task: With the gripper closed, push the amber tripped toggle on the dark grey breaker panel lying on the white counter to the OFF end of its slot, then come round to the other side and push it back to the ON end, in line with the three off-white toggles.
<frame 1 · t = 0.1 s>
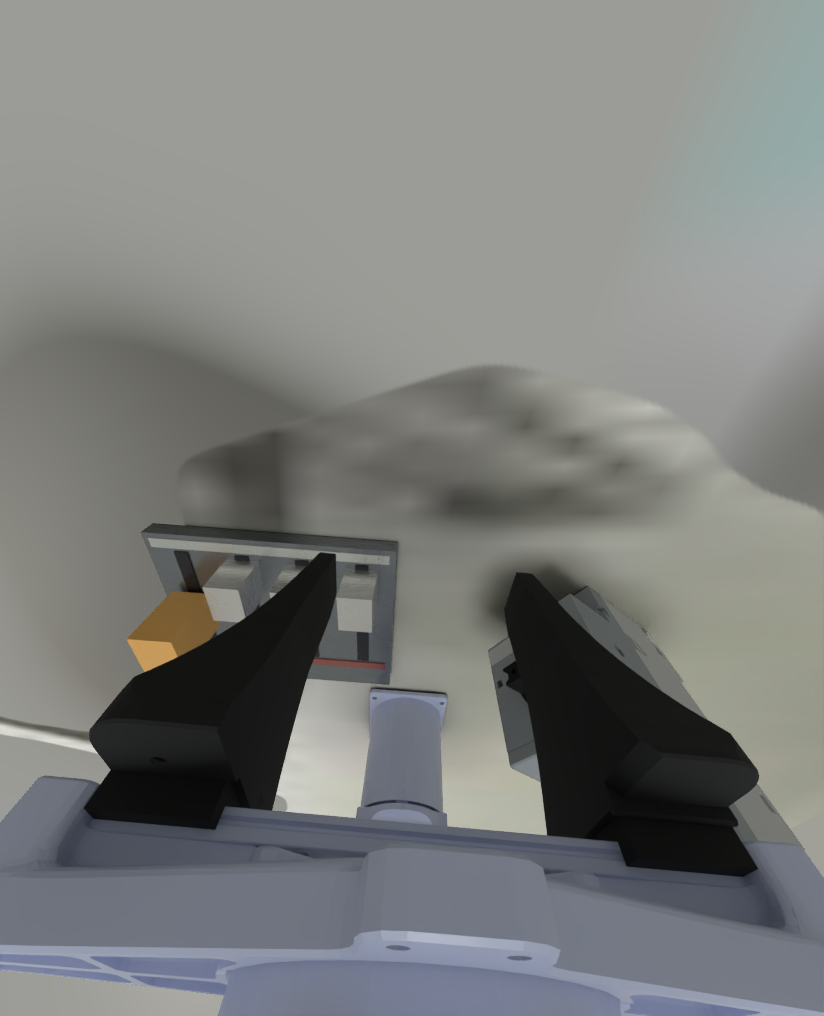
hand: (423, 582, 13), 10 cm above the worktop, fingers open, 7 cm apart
circuit breaker: (557, 614, 28), on the worktop
breaker panel: (288, 608, 28), on the worktop
tripped toggle: (178, 631, 24), point 4 cm above the worktop, slide at 3.5 cm
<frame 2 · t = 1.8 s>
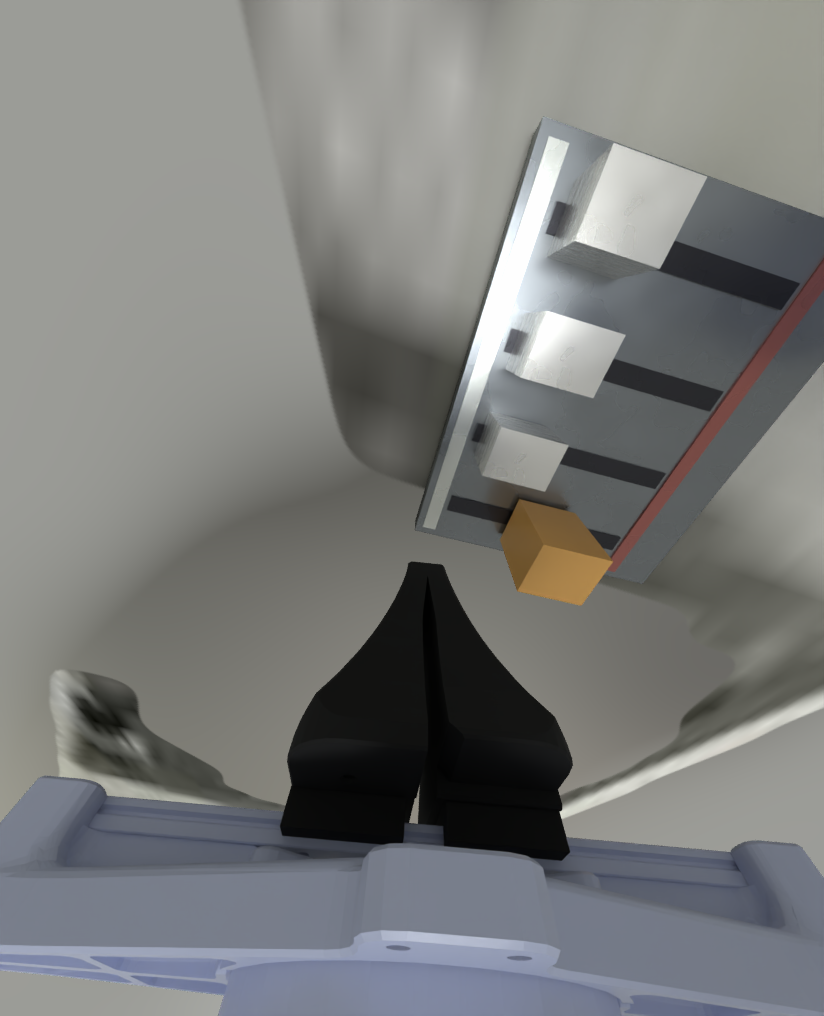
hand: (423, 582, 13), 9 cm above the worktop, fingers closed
breaker panel: (597, 416, 18), on the worktop
tripped toggle: (548, 549, 18), point 4 cm above the worktop, slide at 3.5 cm
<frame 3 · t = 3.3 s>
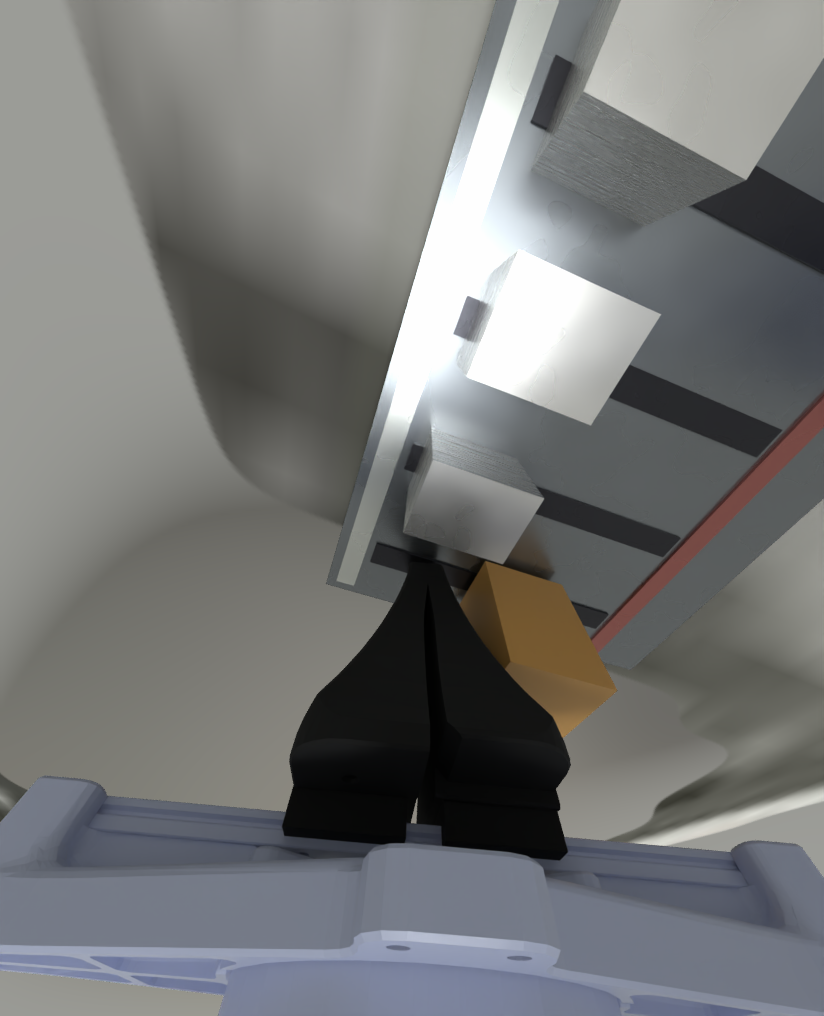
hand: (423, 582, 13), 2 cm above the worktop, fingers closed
breaker panel: (591, 447, 12), on the worktop
tripped toggle: (520, 642, 12), point 4 cm above the worktop, slide at 2.9 cm, touching gripper
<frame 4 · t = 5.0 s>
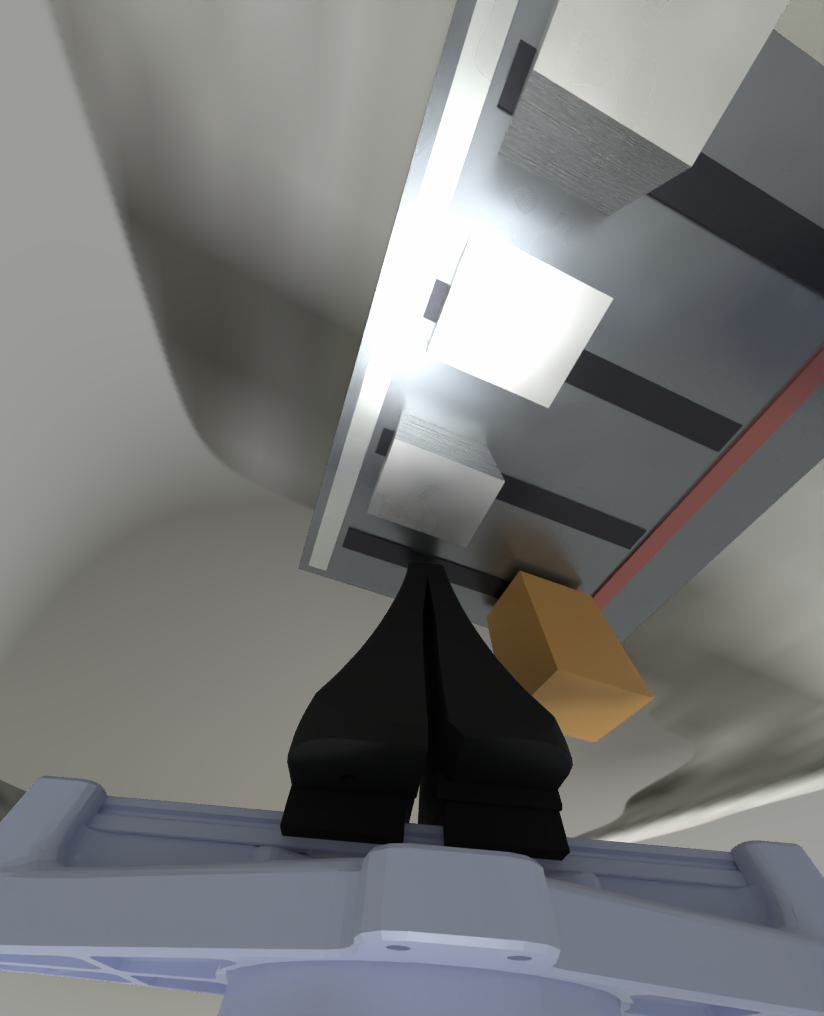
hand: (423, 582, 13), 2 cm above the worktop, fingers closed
breaker panel: (562, 438, 12), on the worktop
tripped toggle: (554, 649, 13), point 4 cm above the worktop, slide at 0.0 cm
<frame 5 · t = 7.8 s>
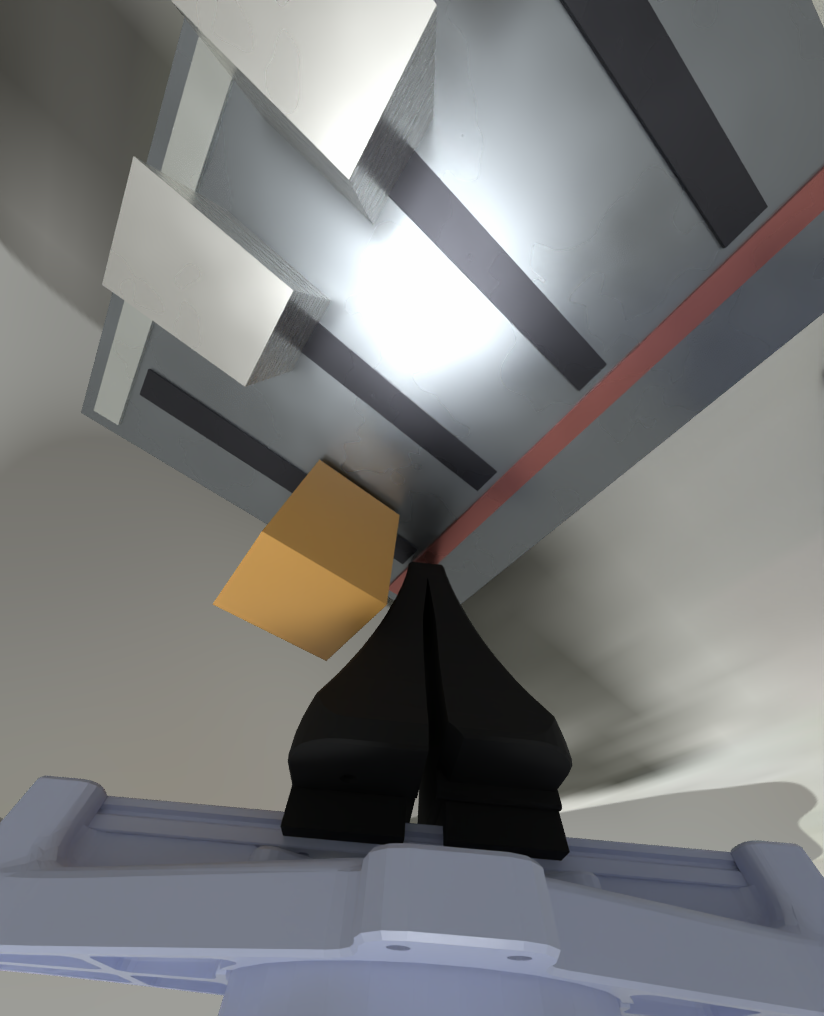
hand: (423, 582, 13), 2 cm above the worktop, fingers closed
breaker panel: (431, 338, 11), on the worktop
tripped toggle: (322, 551, 10), point 4 cm above the worktop, slide at 1.4 cm, touching gripper
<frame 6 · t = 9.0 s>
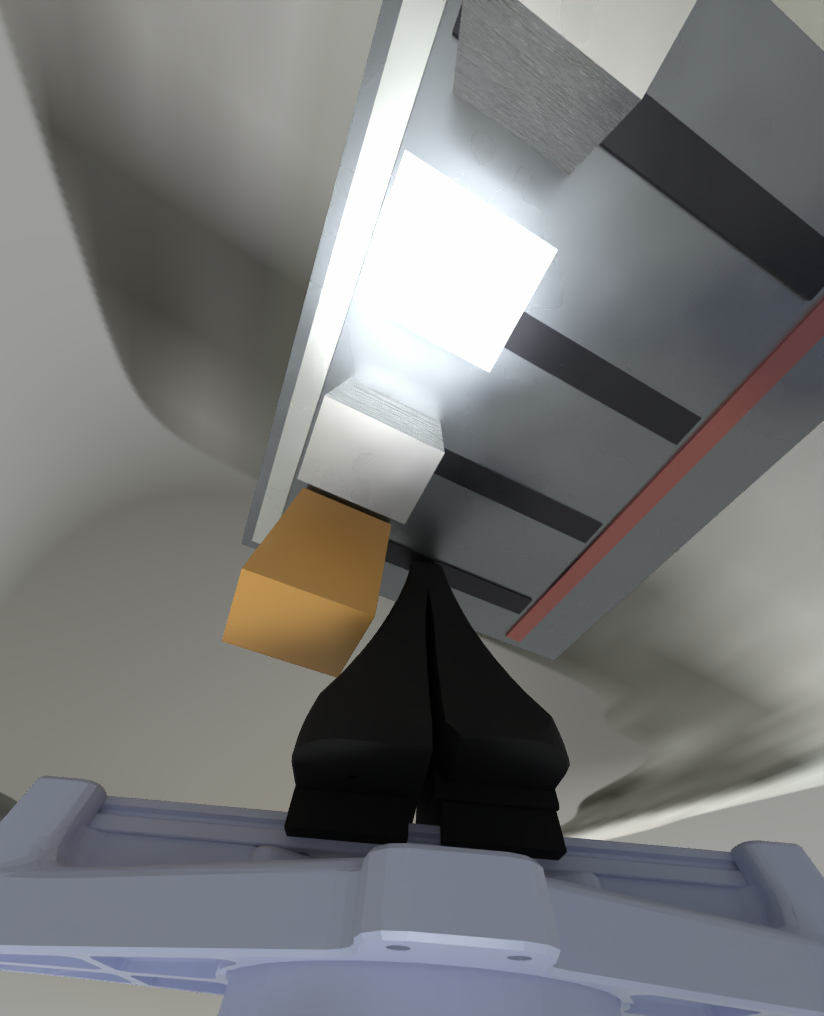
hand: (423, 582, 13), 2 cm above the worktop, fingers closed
breaker panel: (522, 422, 12), on the worktop
tripped toggle: (319, 574, 11), point 4 cm above the worktop, slide at 7.1 cm, touching gripper
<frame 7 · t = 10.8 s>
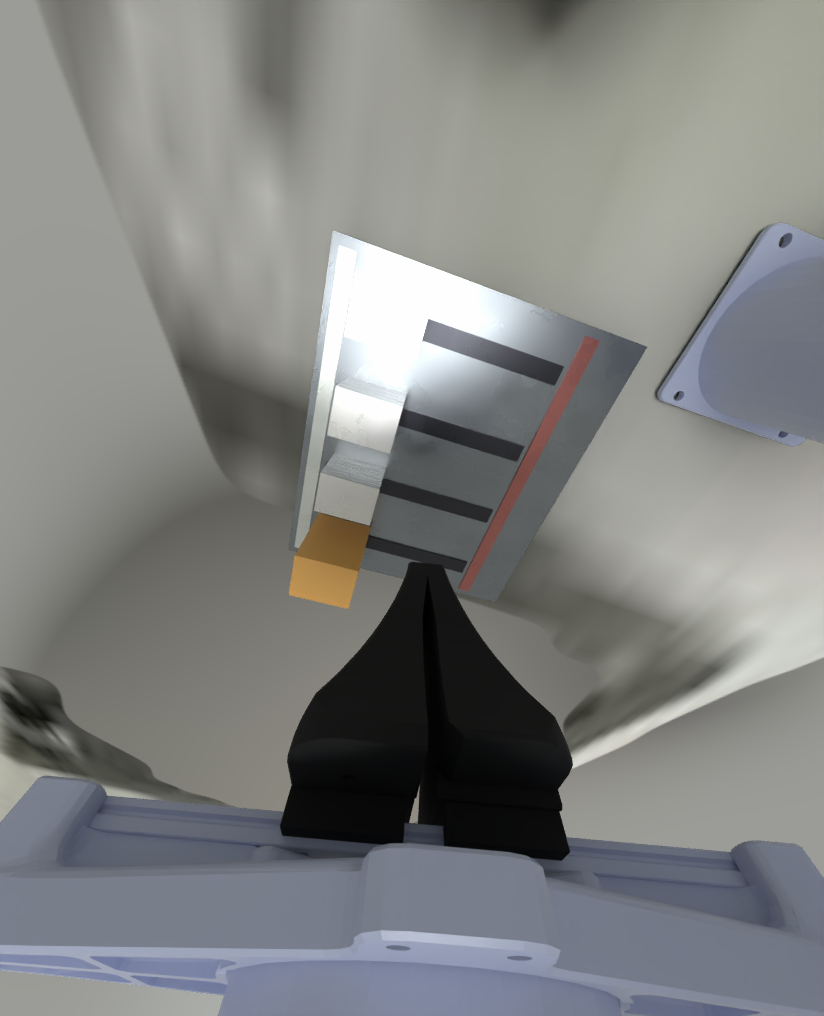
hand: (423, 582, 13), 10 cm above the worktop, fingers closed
breaker panel: (435, 459, 21), on the worktop
tripped toggle: (332, 558, 20), point 4 cm above the worktop, slide at 7.0 cm
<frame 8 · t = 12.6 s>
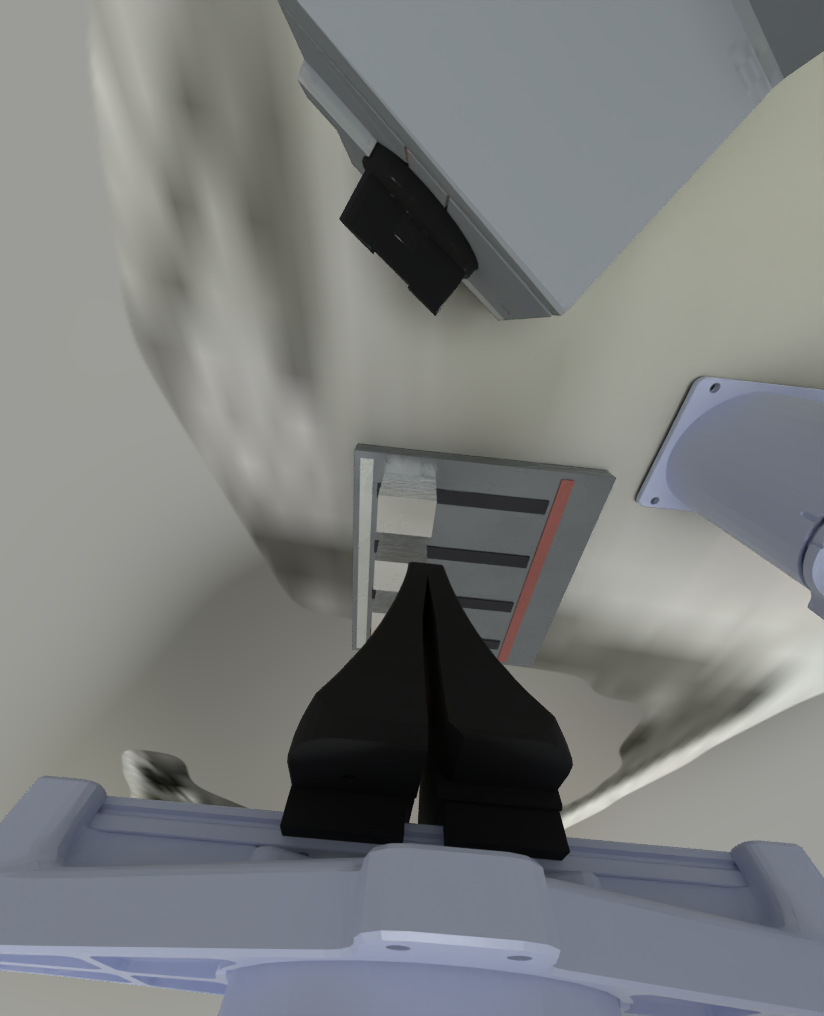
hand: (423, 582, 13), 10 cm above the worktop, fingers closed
circuit breaker: (514, 145, 14), on the worktop
breaker panel: (458, 569, 25), on the worktop
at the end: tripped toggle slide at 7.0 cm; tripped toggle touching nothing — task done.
